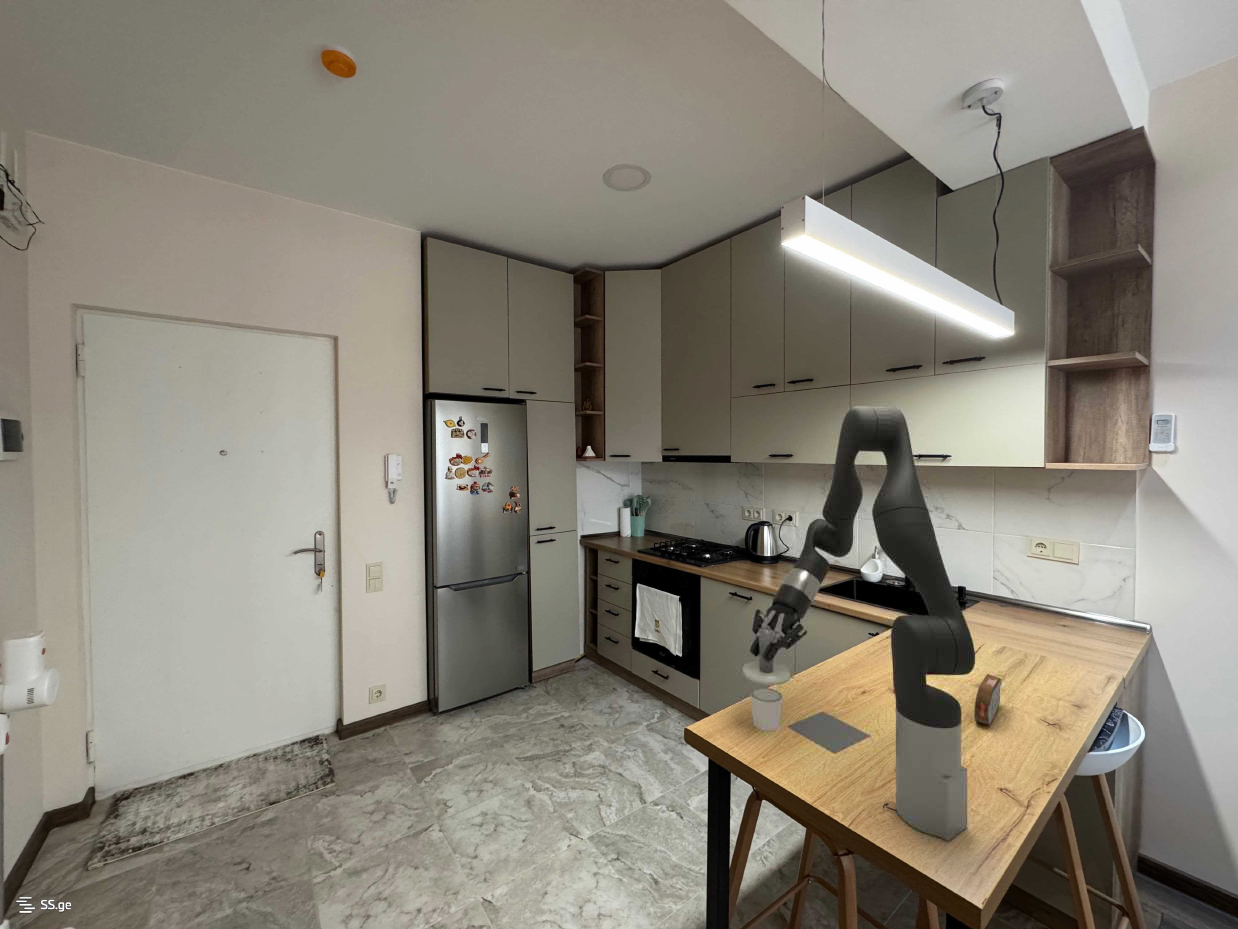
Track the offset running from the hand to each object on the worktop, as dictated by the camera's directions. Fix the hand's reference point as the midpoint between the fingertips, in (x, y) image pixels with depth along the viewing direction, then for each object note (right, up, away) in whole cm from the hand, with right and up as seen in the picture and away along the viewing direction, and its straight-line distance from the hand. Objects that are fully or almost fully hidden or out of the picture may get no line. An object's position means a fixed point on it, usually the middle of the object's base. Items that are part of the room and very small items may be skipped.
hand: (759, 656), depth 111 cm
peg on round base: (+2, -4, +1) cm, 5 cm away
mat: (+14, -16, -2) cm, 21 cm away
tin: (+53, -15, +4) cm, 55 cm away
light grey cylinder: (+2, -16, +1) cm, 16 cm away
